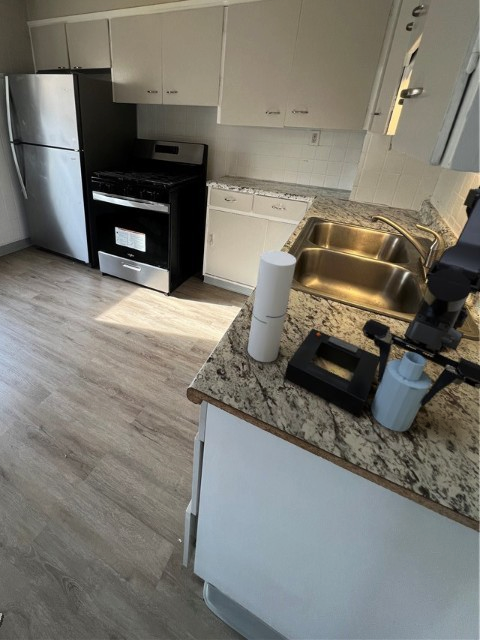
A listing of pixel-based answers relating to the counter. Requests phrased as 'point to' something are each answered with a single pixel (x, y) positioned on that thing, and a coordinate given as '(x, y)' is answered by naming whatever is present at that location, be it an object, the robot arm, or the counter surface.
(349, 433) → the counter surface
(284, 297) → the cylindrical container
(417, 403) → the vase
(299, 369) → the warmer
